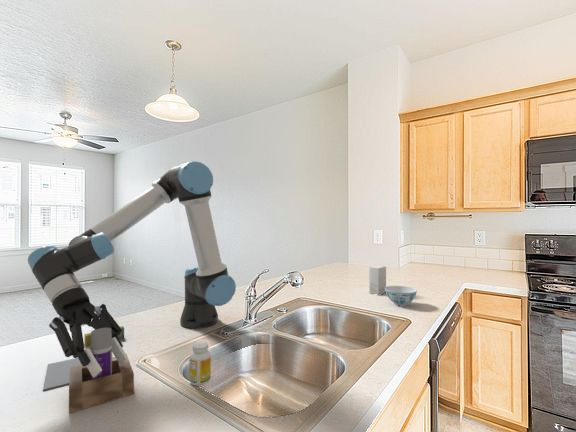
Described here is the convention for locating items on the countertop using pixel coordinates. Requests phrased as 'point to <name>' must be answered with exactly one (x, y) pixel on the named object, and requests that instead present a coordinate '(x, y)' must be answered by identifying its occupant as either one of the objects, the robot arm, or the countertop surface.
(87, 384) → the walnut box
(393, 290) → the chinaware
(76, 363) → the grey mat
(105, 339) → the container
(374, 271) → the skincare box
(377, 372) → the countertop surface
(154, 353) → the countertop surface
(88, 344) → the medication box
